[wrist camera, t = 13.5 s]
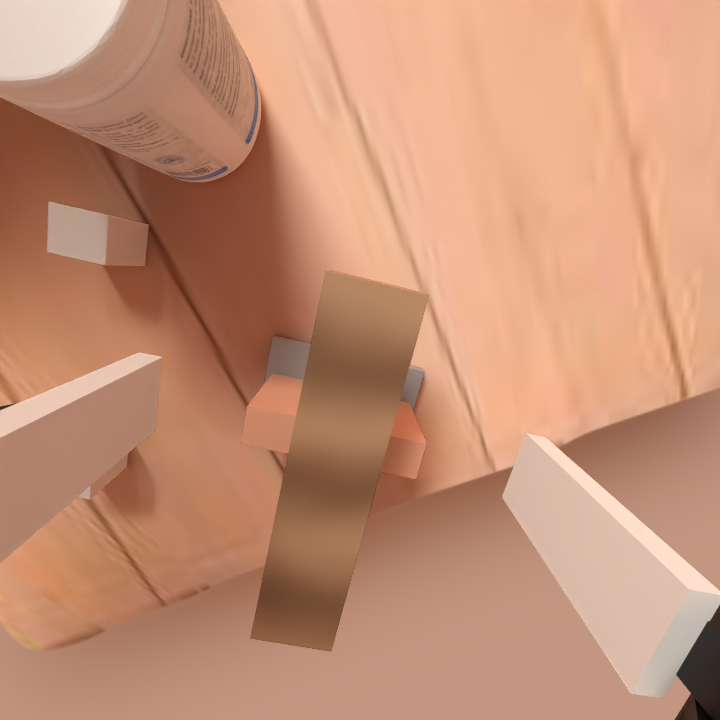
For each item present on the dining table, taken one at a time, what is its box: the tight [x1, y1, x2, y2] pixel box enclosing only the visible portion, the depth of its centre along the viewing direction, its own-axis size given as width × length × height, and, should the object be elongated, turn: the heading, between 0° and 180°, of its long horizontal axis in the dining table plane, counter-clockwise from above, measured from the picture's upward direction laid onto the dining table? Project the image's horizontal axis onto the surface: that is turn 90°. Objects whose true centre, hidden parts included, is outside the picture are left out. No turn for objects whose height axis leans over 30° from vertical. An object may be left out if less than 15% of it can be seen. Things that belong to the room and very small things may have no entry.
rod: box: [251, 271, 429, 651], centre depth 20 cm, size 20×4×4 cm, turn 167°
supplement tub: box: [0, 0, 261, 182], centre depth 18 cm, size 10×10×15 cm
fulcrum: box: [241, 336, 427, 479], centre depth 26 cm, size 12×8×8 cm, turn 77°
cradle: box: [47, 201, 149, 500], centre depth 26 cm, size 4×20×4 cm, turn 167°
